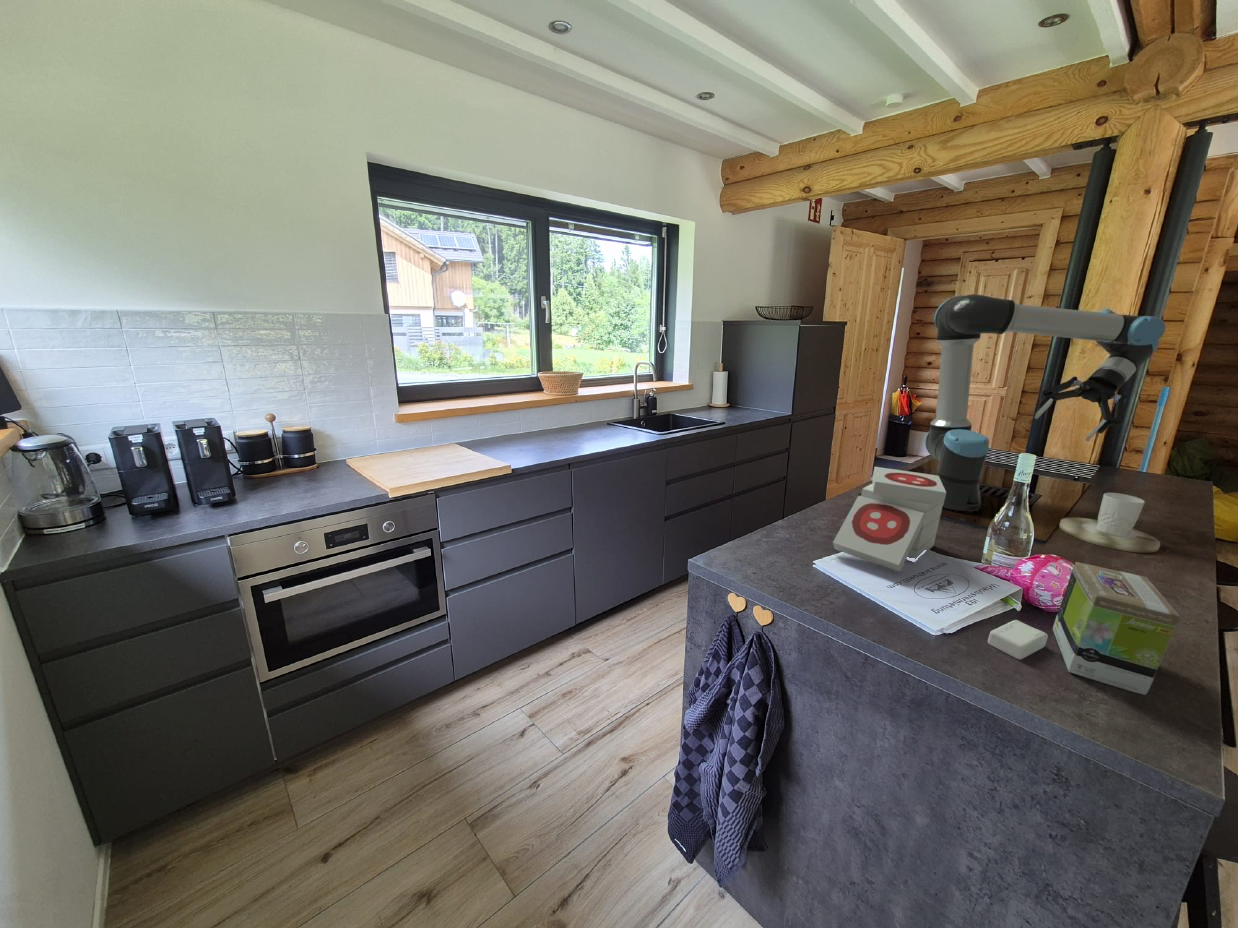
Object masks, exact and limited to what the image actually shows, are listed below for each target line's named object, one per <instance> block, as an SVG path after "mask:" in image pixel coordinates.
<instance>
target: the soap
mask: <svg viewBox="0 0 1238 928" xmlns="http://www.w3.org/2000/svg"><path fill="white" fill-rule="evenodd" d="M1048 638H1049V636H1048V634H1047V633H1046V632H1044V631H1042V630H1040V629H1037V628H1035V627H1032V626H1030V625H1028V624H1026V623H1023V622H1022V621H1020V620H1017V619H1014V620H1012V621H1009V622H1007V623H1005V624H1002V625H1001V626H999V627H997V628H994V629H992V630H991V631H990V632H989V635H988V639H987V643H988V645H990V646H991V647H994V648H995V649H998V651H1001V652H1003V653H1005V654H1007V655H1009V656H1011V657H1013V658H1014V659H1016V660H1018V661H1019V660H1023V659H1025V658H1027V657H1029V656H1030V655H1033V653H1036V652H1038V651H1039V650H1041V649H1043V648H1044V647H1046V644H1047V640H1048Z"/></svg>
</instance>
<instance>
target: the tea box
mask: <svg viewBox="0 0 1238 928" xmlns="http://www.w3.org/2000/svg"><path fill="white" fill-rule="evenodd" d="M1070 573H1071V574H1070V576H1069V579H1068V583H1067V585H1066V588H1065V591H1064V595H1063V597H1062V599H1061V603H1060V605H1059V609H1058V612H1057V614H1056V617H1055V619H1054V623H1053V627H1052V632H1053V633H1054V637H1055V638H1056V642H1057V644H1058V647H1059V649H1060V652H1061V655H1062V658H1063V660H1064V663H1065V666H1066V668H1067V671H1068V672H1069V673H1071V674H1074V675H1077V676H1080V677H1083V678H1086V679H1089V680H1093V681H1095V682H1099V683H1103V684H1106V685H1108V686H1112V687H1115V688H1119V689H1123V690H1126V691H1128V692H1132V693H1136V694H1140V695H1142V696H1146V695H1147V694H1148V692H1149V691H1150V688H1151V686H1152V684H1153V682H1154V679H1155V676H1156V674H1157V671H1158V670H1159V667H1160V665H1161V663H1162V659H1163V657H1164V655H1165V653H1166V651H1167V649H1168V646H1169V645H1170V644H1169V643H1170V642H1171V639H1172V637H1173V634H1174V632H1175V630H1176V628H1177V624H1178V622H1179V619H1180V618H1181V617H1180V614H1179V613H1178V612H1177V611H1176V609H1175V608H1174V607H1173V606H1172V605H1171V603H1170V602H1169V601H1168V600H1167V599H1166V598H1165V597H1164V596H1163V594H1162V593H1161V592H1160V590H1158V589H1157V587H1156V586H1155V584H1153V583H1152V581H1150V579H1149V578H1148V577H1147V576H1143V575H1138V574H1133V573H1129V572H1125V571H1120V570H1116V569H1115V570H1114V569H1110V568H1107V567H1102V566H1097V565H1093V564H1088V563H1083V562H1078V561H1075V563H1074V565H1073V567H1072V571H1071V572H1070Z"/></svg>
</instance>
